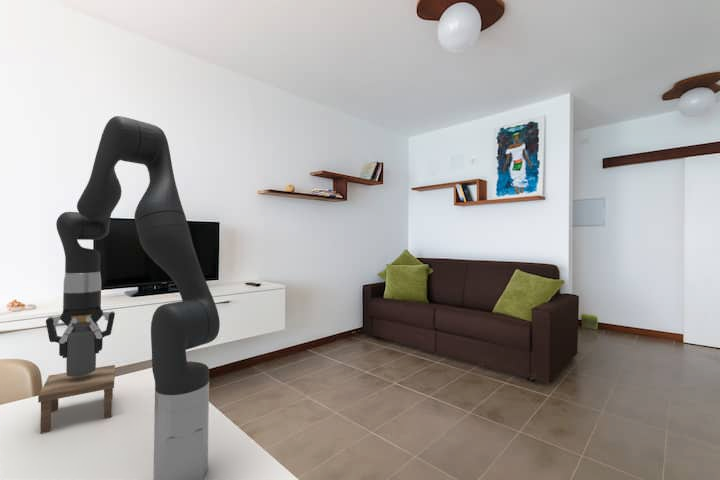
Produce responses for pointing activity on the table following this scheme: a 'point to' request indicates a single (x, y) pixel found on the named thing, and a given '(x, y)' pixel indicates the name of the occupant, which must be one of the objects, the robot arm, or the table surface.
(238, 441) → the table surface
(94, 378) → the wooden bench
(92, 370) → the bottle
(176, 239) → the robot arm
